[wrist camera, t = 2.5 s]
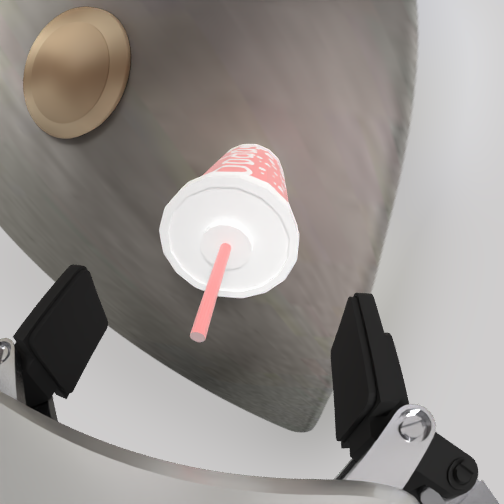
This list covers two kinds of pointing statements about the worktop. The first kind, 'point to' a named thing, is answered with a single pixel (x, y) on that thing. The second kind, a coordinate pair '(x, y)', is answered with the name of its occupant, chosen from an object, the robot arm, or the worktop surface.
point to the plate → (76, 72)
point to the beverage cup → (231, 230)
